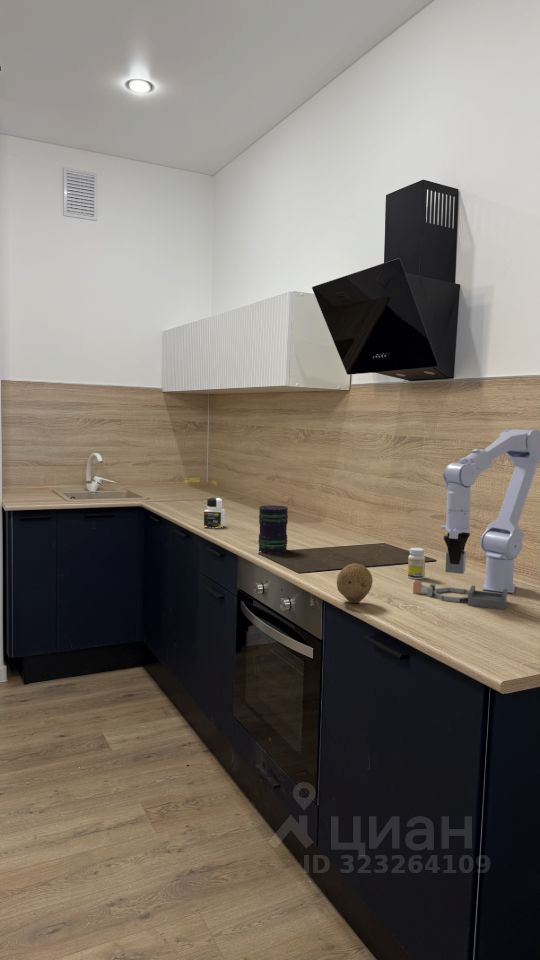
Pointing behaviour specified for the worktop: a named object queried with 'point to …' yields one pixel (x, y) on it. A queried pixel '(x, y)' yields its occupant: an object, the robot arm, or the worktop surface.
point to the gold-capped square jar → (456, 567)
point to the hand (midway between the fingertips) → (455, 562)
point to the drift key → (420, 588)
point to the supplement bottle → (416, 563)
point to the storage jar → (273, 529)
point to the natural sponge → (354, 582)
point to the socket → (435, 592)
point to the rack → (487, 598)
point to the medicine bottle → (214, 513)
